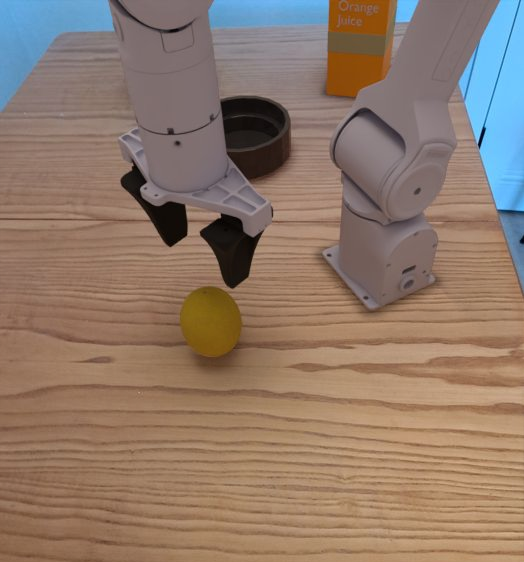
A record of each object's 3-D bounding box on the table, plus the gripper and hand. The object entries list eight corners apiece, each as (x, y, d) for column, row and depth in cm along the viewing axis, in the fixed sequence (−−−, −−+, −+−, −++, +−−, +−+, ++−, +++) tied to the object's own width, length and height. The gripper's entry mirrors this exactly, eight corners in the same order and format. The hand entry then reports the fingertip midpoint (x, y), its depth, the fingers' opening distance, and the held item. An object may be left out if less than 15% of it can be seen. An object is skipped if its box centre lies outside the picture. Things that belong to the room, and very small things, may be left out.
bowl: (308, 163, 72) (308, 130, 68) (220, 195, 69) (215, 163, 65) (263, 117, 78) (261, 85, 75) (181, 145, 76) (175, 113, 72)
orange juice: (325, 94, 81) (329, -74, 65) (338, 63, 86) (346, -100, 70) (380, 100, 79) (399, -72, 63) (391, 68, 84) (410, -99, 68)
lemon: (248, 327, 56) (241, 269, 50) (241, 374, 53) (232, 318, 47) (193, 325, 57) (178, 268, 50) (183, 371, 54) (166, 316, 47)
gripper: (65, 100, 40) (117, 246, 50) (209, 182, 33) (232, 330, 44) (144, 59, 42) (176, 206, 53) (290, 128, 36) (293, 279, 47)
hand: (206, 259), depth 49 cm, fingers open, 7 cm apart
